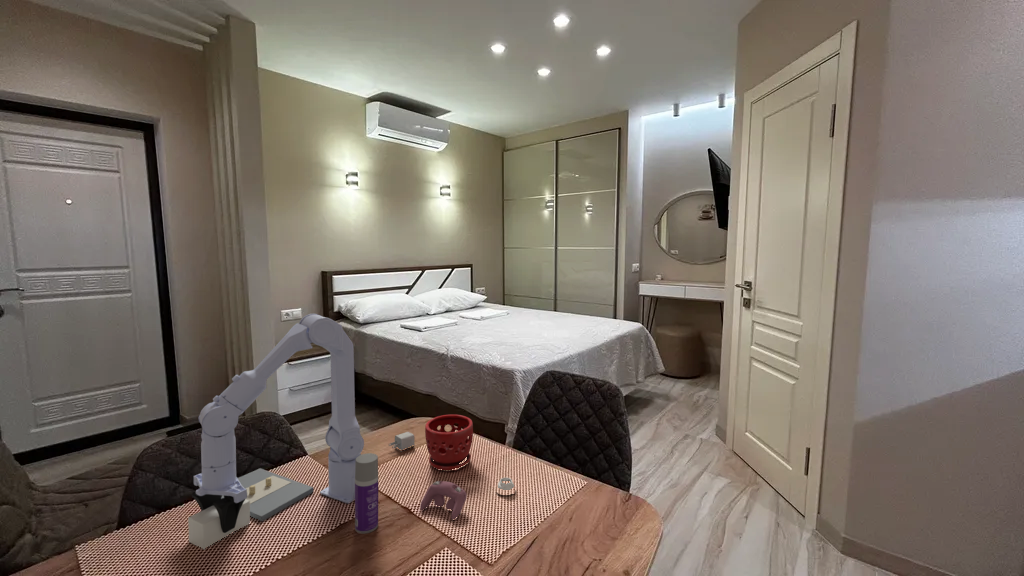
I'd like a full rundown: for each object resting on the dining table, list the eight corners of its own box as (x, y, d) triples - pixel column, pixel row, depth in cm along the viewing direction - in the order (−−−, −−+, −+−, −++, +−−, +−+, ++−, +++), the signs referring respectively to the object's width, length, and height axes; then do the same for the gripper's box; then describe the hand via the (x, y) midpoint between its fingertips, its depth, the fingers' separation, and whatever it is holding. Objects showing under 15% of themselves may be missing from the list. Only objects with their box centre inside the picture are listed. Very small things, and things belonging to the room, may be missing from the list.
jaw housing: (250, 523, 89) (249, 500, 88) (203, 549, 81) (203, 524, 80) (235, 517, 91) (235, 494, 90) (188, 541, 83) (188, 517, 82)
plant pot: (433, 451, 124) (434, 412, 123) (476, 455, 122) (477, 415, 121) (417, 473, 111) (418, 429, 110) (465, 478, 109) (466, 433, 109)
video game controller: (464, 520, 94) (471, 487, 96) (454, 522, 90) (462, 487, 93) (427, 509, 98) (435, 477, 100) (417, 510, 94) (425, 476, 97)
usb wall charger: (414, 447, 126) (414, 434, 126) (394, 455, 121) (394, 441, 121) (407, 443, 129) (407, 431, 129) (386, 450, 124) (386, 437, 124)
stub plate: (313, 492, 101) (313, 480, 101) (261, 521, 89) (261, 508, 89) (260, 472, 110) (259, 461, 109) (206, 497, 98) (205, 485, 98)
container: (370, 535, 86) (371, 464, 85) (350, 531, 87) (350, 461, 86) (382, 521, 90) (382, 454, 90) (362, 518, 91) (362, 451, 90)
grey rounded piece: (514, 498, 101) (516, 487, 106) (514, 486, 101) (516, 476, 106) (494, 496, 101) (496, 485, 106) (494, 485, 101) (497, 474, 106)
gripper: (176, 461, 84) (178, 526, 85) (219, 479, 78) (221, 548, 79) (213, 448, 91) (215, 508, 91) (256, 463, 84) (257, 527, 85)
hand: (220, 525), depth 86 cm, fingers closed on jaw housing, 5 cm apart
